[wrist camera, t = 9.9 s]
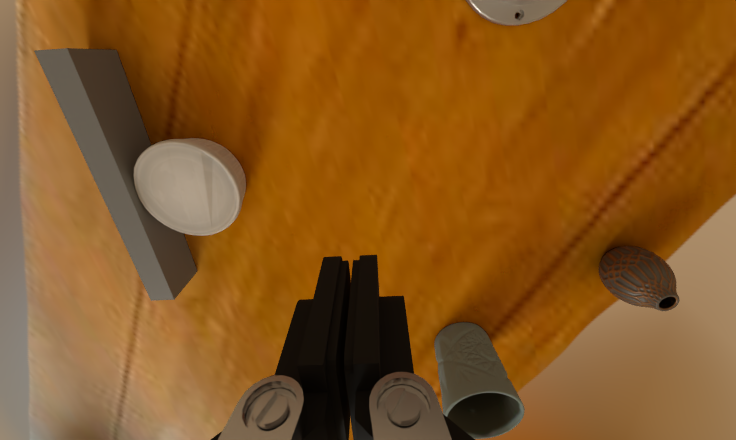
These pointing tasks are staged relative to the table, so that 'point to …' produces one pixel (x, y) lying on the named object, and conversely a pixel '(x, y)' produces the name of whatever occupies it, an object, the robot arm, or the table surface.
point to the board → (117, 159)
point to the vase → (639, 278)
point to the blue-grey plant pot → (475, 382)
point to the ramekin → (190, 185)
